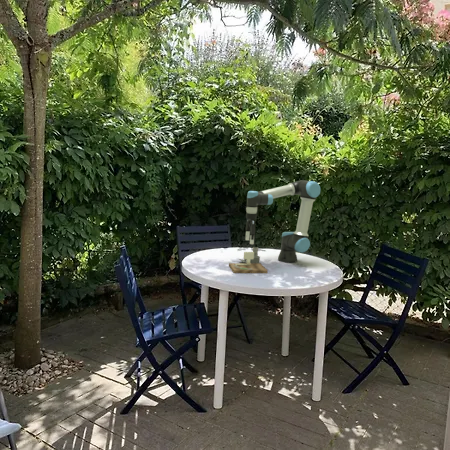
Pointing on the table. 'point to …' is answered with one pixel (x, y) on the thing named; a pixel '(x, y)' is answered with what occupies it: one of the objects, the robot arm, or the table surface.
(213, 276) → the table surface
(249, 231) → the robot arm
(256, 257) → the camera
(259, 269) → the tuner board
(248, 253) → the cream pointer block
